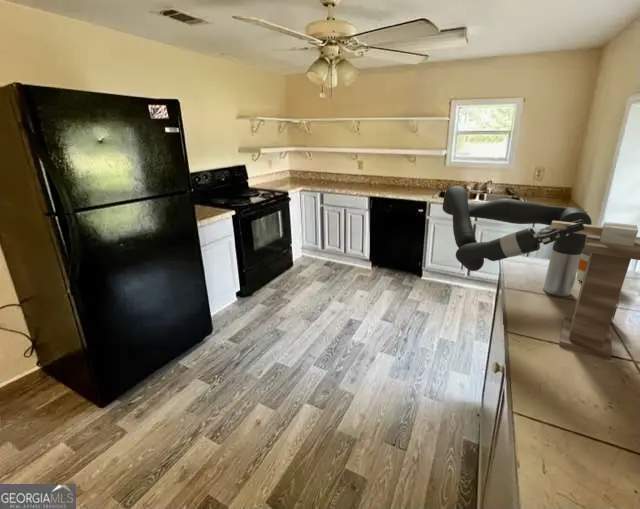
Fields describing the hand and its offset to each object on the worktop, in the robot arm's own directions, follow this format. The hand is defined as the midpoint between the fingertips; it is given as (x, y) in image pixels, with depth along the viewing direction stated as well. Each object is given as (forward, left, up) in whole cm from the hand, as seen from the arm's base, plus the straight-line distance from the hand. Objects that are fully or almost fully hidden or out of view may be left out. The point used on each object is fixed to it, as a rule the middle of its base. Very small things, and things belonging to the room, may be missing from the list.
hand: (583, 224), depth 97 cm
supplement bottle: (-16, +12, -36) cm, 41 cm away
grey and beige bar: (0, +2, -4) cm, 4 cm away
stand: (0, +8, -36) cm, 36 cm away
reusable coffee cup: (-52, +8, -36) cm, 64 cm away
